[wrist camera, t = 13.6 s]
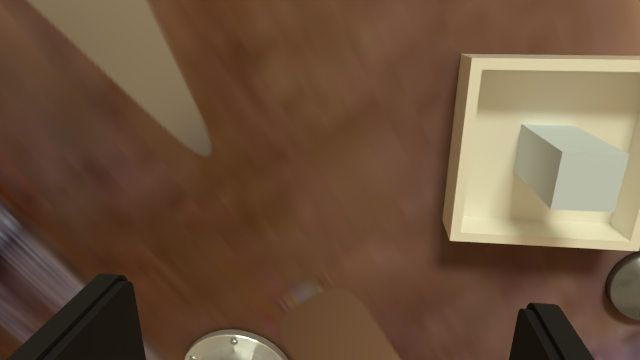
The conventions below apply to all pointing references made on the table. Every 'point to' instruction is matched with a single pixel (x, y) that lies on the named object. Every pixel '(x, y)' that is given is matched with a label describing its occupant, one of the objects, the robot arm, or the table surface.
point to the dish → (503, 136)
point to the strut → (570, 167)
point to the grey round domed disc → (625, 286)
